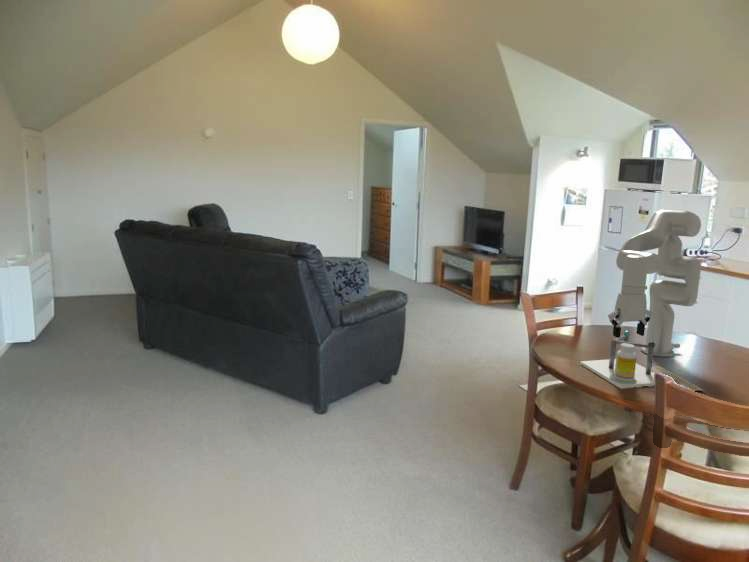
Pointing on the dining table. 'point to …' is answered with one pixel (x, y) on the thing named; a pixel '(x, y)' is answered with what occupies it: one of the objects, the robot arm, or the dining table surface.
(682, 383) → the newspaper
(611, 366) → the bent wire
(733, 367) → the dining table surface
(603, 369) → the buzz board
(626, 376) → the supplement bottle
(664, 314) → the robot arm
